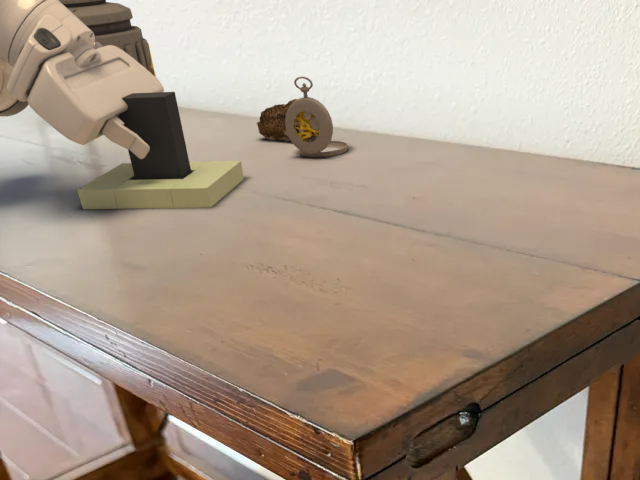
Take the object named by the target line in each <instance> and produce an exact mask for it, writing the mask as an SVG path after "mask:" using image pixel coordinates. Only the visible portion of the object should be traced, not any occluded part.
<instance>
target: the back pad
mask: <svg viewBox="0 0 640 480" xmlns="http://www.w3.org/2000/svg"><path fill="white" fill-rule="evenodd" d="M122 99H123V100H124V102H125V103H126V104H127V106H128V109H127V110H126V111H124V112H122V113H120V114H119V116H120V120H121V121H123V122H124V126H125V127H127V128H128V129H130V130H131V131H133V132H134V133H136V134H137V135H138V136H139V135H141V134H142V135H143V136H144V137H145V138H146V139H147V140H148V141H150V142H151V143H152V145H153V149H152V151H151V152H150V154H149V155H148V156H147V157H145V158H143V159H140V158H138V157H137V156H136V155H135V154H134V153H133V152H131V151H130V150H129V149H127V151H128V156H129V159H130V163H131V164H132V168H133V172H134V176H135V180H154V179H184V178H185V177H187V176H188V175H189V174H191V168H190V163H189V162H190V158H189V154H188V149H187V144H186V139H185V134H184V130H183V126H182V121H181V115H180V111H179V105H178V101H177V96H176V92H175V91H164V92H154V93H132V94H130V95H127V96H125V97H123V98H122Z"/></svg>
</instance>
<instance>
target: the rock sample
mask: <svg viewBox="0 0 640 480" xmlns="http://www.w3.org/2000/svg"><path fill="white" fill-rule="evenodd" d="M297 99H298V98H294V99H291V100H289V101H288V102H286V103H282V104H281V103H280V104H273V105H272V106H270V107H265V109H264V110H262V111H261V112H260V115H259V121H257V122H256V126H257V129H258V133H259V135H261V136H262V137H264V138H266V139H267V140H270V141H285V142H286V141H287V142H288V141H289V142H291V140H290V139H289V136H288V134H287V131H286V125H285V118H286V113H287V111H288V109H289V107H290V105H291V104H292V103H293V102H294V101H296V100H297ZM299 118H300V117H299ZM300 119H301V118H300ZM298 120H299V119H298ZM297 123H299V122H298V121H297ZM299 124H300V125H301V123H299ZM299 124H298V126H300V125H299ZM303 125H304V124H303ZM305 126H306V125H305ZM300 130H303V129H300ZM300 130H299V132H300V133H302V132H305V131H300ZM316 131H317V130H316ZM304 136H306V135H304Z"/></svg>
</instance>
